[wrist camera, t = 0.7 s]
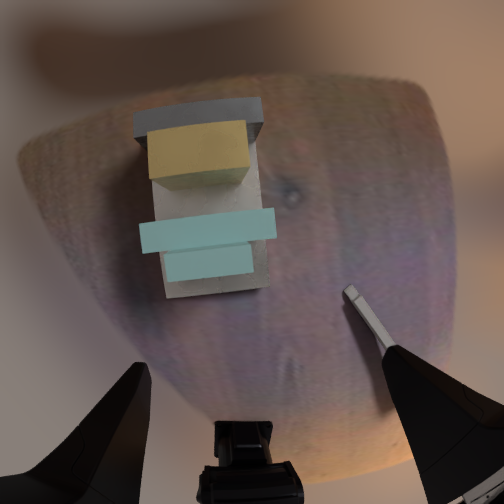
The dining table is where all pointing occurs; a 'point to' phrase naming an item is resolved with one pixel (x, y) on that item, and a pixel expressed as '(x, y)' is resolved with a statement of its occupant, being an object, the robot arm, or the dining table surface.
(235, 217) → the block
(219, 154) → the brass block
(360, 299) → the grey long thin bar
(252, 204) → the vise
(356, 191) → the dining table surface
